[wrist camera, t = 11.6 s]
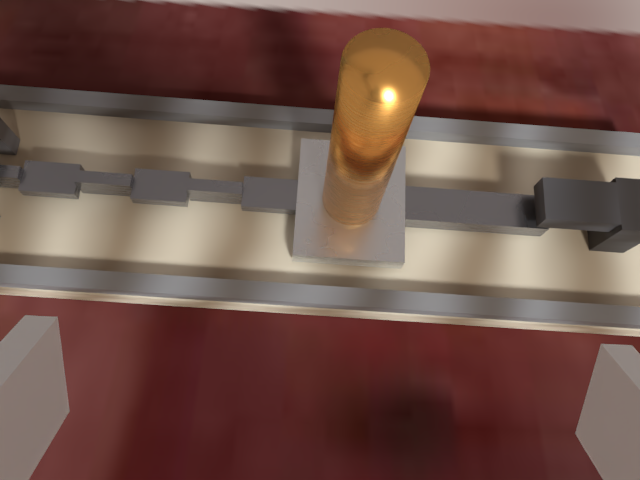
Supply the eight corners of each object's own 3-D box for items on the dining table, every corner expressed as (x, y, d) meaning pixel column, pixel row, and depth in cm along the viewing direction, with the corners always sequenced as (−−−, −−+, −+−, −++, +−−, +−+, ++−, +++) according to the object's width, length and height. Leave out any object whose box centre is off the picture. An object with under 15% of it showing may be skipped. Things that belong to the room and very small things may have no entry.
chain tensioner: (-40, 238, 31) (-258, 105, 19) (-9, 125, 34) (-184, -61, 21) (543, 278, 32) (703, 176, 20) (534, 165, 35) (673, 10, 22)
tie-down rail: (-217, 280, 32) (-305, 252, 27) (-147, 93, 36) (-213, 41, 31) (652, 337, 33) (711, 320, 29) (627, 152, 37) (676, 110, 33)
